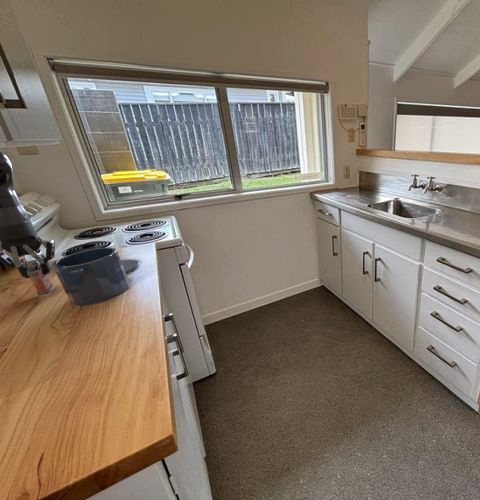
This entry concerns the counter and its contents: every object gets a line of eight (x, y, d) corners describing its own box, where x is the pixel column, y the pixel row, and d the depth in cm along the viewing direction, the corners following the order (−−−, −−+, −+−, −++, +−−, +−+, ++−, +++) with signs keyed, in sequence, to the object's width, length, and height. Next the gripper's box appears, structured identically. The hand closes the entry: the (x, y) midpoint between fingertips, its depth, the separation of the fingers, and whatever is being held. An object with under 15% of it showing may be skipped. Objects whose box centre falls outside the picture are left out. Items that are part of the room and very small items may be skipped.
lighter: (40, 287, 91) (26, 258, 87) (55, 283, 93) (41, 255, 89) (35, 296, 85) (20, 266, 81) (51, 292, 87) (36, 263, 83)
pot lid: (80, 285, 94) (73, 270, 92) (93, 268, 107) (87, 254, 105) (136, 273, 101) (130, 259, 99) (142, 258, 114) (137, 245, 112)
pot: (60, 316, 78) (38, 276, 73) (82, 285, 94) (66, 251, 90) (124, 300, 84) (108, 262, 79) (134, 274, 101) (121, 241, 96)
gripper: (49, 215, 87) (72, 265, 93) (-16, 223, 81) (13, 276, 87) (38, 220, 80) (63, 274, 87) (-34, 229, 75) (-1, 286, 81)
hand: (38, 275), depth 87 cm, fingers closed on lighter, 3 cm apart
